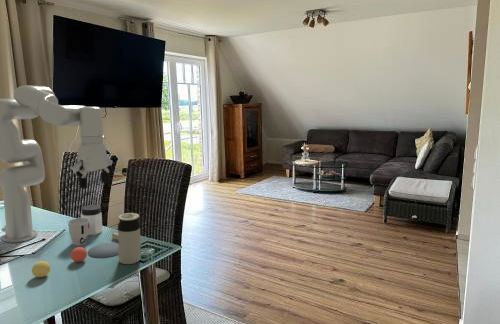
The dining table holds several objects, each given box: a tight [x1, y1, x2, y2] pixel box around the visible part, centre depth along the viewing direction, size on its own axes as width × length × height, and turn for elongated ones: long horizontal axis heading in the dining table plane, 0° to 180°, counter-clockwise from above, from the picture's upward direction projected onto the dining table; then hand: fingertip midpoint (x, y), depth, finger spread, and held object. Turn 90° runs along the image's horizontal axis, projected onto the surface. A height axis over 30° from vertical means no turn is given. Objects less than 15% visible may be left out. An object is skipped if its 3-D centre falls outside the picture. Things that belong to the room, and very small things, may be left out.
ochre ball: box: [31, 260, 51, 278], centre depth 119 cm, size 6×6×6 cm
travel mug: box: [117, 212, 142, 265], centre depth 132 cm, size 8×8×18 cm
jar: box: [80, 204, 103, 236], centre depth 159 cm, size 9×8×12 cm
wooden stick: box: [111, 231, 142, 247], centre depth 150 cm, size 2×16×2 cm, turn 59°
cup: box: [67, 217, 89, 247], centre depth 146 cm, size 8×8×10 cm
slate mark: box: [87, 242, 119, 259], centre depth 142 cm, size 14×14×1 cm
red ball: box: [70, 246, 88, 263], centre depth 131 cm, size 6×6×6 cm
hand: (94, 185), depth 130 cm, fingers open, 9 cm apart
